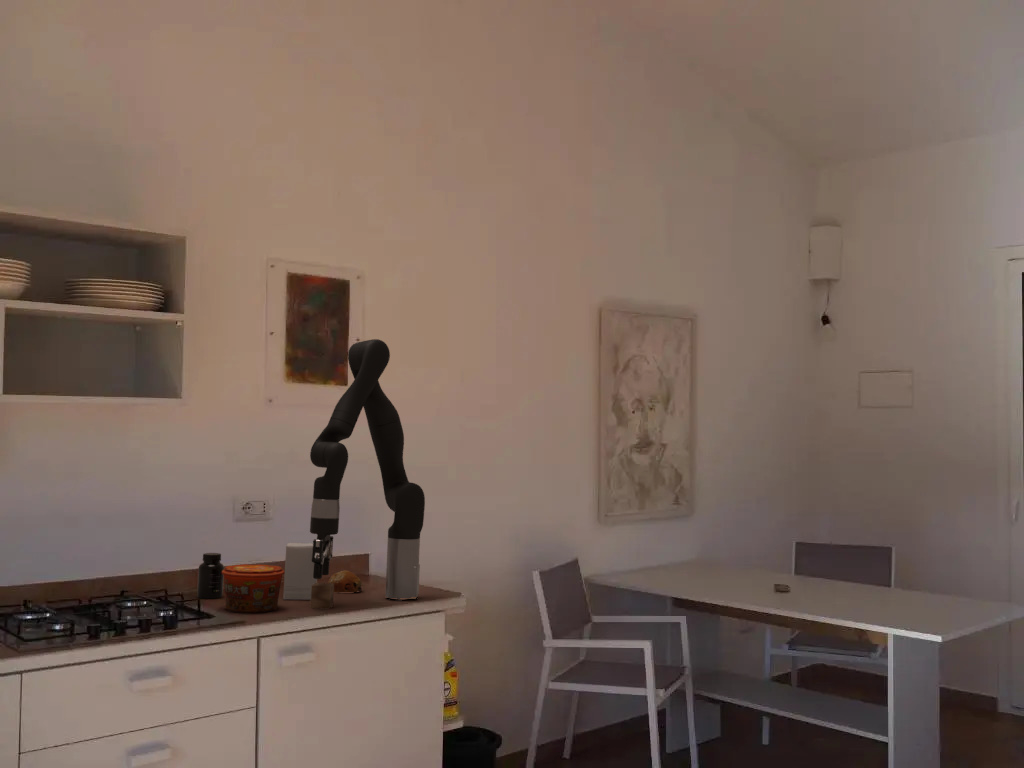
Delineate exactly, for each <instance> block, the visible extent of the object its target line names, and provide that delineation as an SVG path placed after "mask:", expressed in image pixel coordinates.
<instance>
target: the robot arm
mask: <svg viewBox="0 0 1024 768" xmlns="http://www.w3.org/2000/svg"><path fill="white" fill-rule="evenodd" d="M390 352H391V351H390V348H389V346H388V345H387V344H386V342H385V341H383V340H382V339H379V338H378V339H377V338H373V339H367V340H363V341H358V342H355V343H353V344H352V345H351V346H350V347H349V350H348V351H347V353H348V354H347V359H348V366H349V368H350V371H351V374H352V376H353V379H354V380H353V381H352V383H351V384H350V385H349V387H348V388H347V389H346V391H345V392H344V393H343V394H342V395H341V396H340V398H339V400H337V403H336V405H335V407H334V408H333V410H332V413H331V416H330V418H329V421H328V424H327V425H326V427H324V429H322V431H321V433H320V434H319V435H318V436H317V438H316V439H315V441H314V442H313V444H312V446H311V448H310V452H309V455H310V456H309V458H310V461H311V463H312V465H313V466H315V467H318V468H325V472H324V475H323V476H318V477H316V479H314V483H313V495H312V502H311V509H310V510H311V511H310V522H309V523H310V524H309V526H310V527H309V533H310V534H312V535H316V539H313V541H312V543H313V552H312V562H313V564H314V572H313V578H314V579H317V580H320V579H322V578H323V576H328V575H329V574H330V561H331V560H332V558H333V556H334V555H333V547H334V535H337V534H338V533H339V526H340V525H339V524H340V509H341V508H340V506H341V505H340V495H341V492H340V491H341V484H342V481H343V478H344V475H345V472H346V469H347V466H348V463H349V462H348V461H349V452H348V449H347V446H346V445H344V443H342V442H341V441H343V440H347V439H349V438H350V437H352V434H353V431H354V429H355V427H356V425H357V422H358V419H359V417H360V415H361V412H362V409H363V410H364V413H365V416H366V417H365V418H366V422H367V425H368V429H369V433H370V437H371V441H372V445H373V447H374V451H375V455H376V460H377V463H378V466H379V469H380V474H381V479H382V488H383V493H384V494H383V495H384V499H385V503H386V505H387V507H388V508H389V509H390V510H391V511H392V512H394V515H393V516H394V518H393V522H392V524H391V526H389V528H388V529H387V548H386V549H387V550H386V568H385V569H386V570H385V572H386V576H385V590H384V591H385V594H384V595H385V596H386V597H388V598H397V599H400V598H411V597H417V596H418V594H420V593H419V592H420V590H419V589H420V572H421V571H420V570H421V569H420V568H421V564H420V545H421V532H422V530H423V527H424V521H425V520H424V519H425V507H426V499H425V498H426V497H425V492H424V490H423V489H422V486H421V485H419V484H418V483H415V482H410V481H409V479H408V476H407V473H406V470H405V463H404V449H405V447H404V445H405V436H404V435H405V434H404V430H403V426H402V422H401V421H402V420H401V418H400V416H399V411H398V410H397V408H396V407H395V405H394V404H393V403H392V401H391V400H390V399H389V397H388V396H387V395H386V393H385V392H384V390H383V389H382V387H381V385H380V382H379V379H380V377H381V376H382V374H383V373H384V371H385V370H386V369H387V366H388V364H389V362H390V357H391V353H390ZM317 557H318V558H317ZM385 596H384V597H385Z"/></svg>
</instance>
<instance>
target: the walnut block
mask: <svg viewBox="0 0 1024 768" xmlns="http://www.w3.org/2000/svg"><path fill="white" fill-rule="evenodd" d="M334 594H335V593H334V584H330V583H328V582H327V583H325V582H324V583H323V582H317V583H315V584H313V585H312V590H311V600H310V609H317V608H330V607H331V606H332V605H333V606H334V596H335V595H334ZM333 606H332V607H333ZM332 607H331V608H332ZM331 608H330V609H331Z"/></svg>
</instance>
